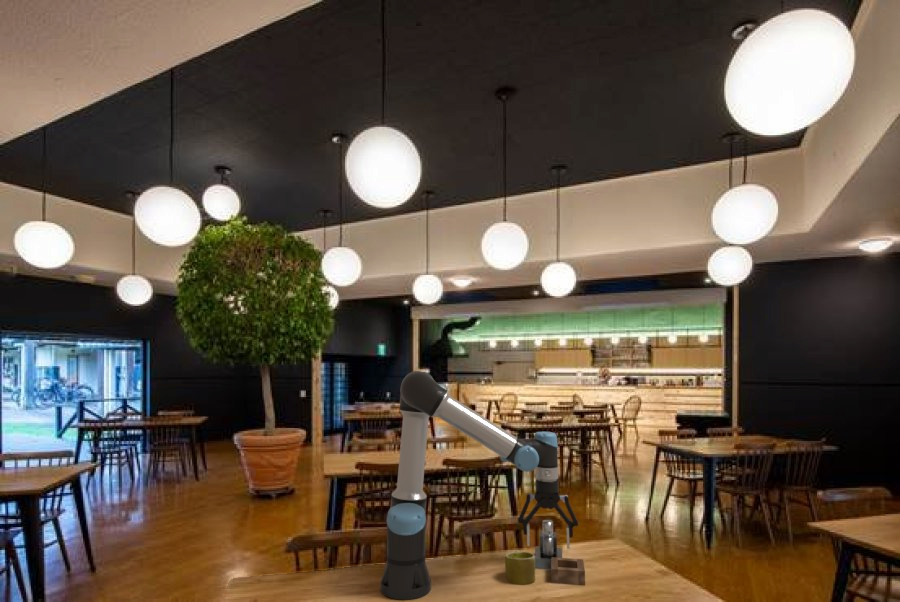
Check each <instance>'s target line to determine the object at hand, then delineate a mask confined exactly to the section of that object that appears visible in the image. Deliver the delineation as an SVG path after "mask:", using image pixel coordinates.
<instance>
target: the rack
mask: <svg viewBox="0 0 900 602" xmlns="http://www.w3.org/2000/svg"><path fill="white" fill-rule="evenodd" d="M584 563H585V562H584V559H582V558H570V557H569V558H568V557H567V558H566V557H562V558H556V557H551V570H550V574H551V575H550V576H551V577H550V578H551V584H560V585H562V584H563V585H574V586H586V570H585V564H584Z"/></svg>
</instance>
